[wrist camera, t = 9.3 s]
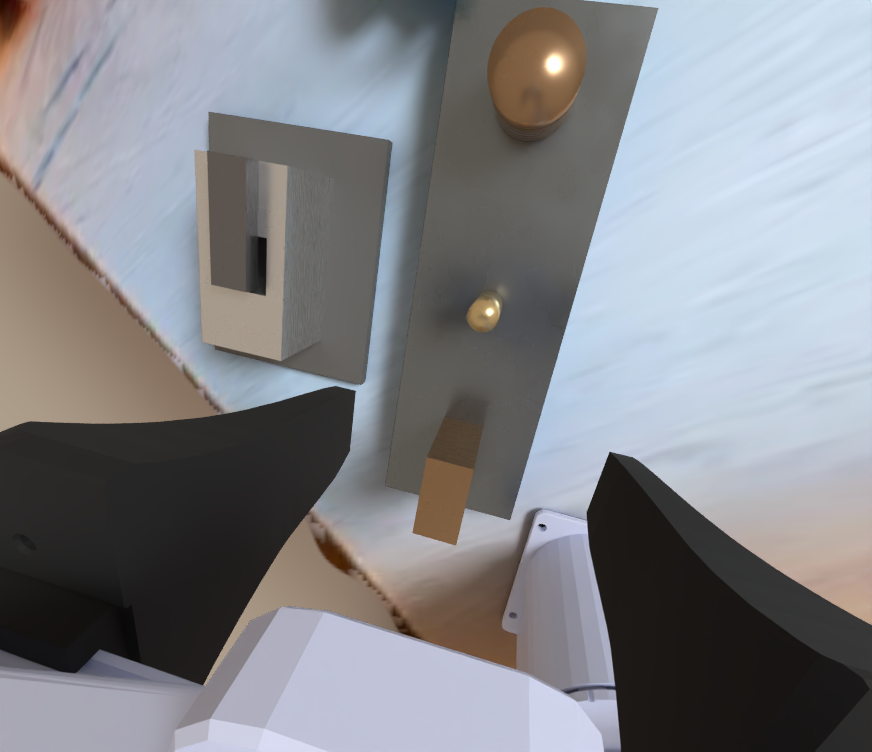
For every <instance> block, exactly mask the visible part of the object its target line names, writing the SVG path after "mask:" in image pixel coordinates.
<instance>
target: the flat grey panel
mask: <svg viewBox="0 0 872 752" xmlns="http://www.w3.org/2000/svg"><path fill="white" fill-rule="evenodd" d="M209 145H210V151H211V152H217V153H223V154H229V155H234V156H240V157H246V158H250V159H254V160H257V161H262V162H268V163H274V164H280V165H286V166H290V167H294V168H297V169H301V170H304V171H308V172H312V173H315V174H319V175H323V176H326V177H330V178H333V185H332V199H331V214H330V228H329V242H328V257H327V271H326V286H325V300H324V314H323V329H322V340H320V341H318V342H316V343H314V344H312V345H311V346H309V347H307V348H305V349H303V350H301V351H299V352H297V353H295V354H294V355H292V356H290V357H288V358H286V359H284V360H282V361H279V360H274V359H270V358H266V357H262V356H258V355H254V354H250V353H245V352H241V351H237V350H233V349H229V348H225V347H221V346H216V345H215V349H216V350H220V351H224V352H228V353H232V354H236V355H241V356H245V357H249V358H253V359H257V360H261V361H265V362H269V363H274V364H278V365H282V366H286V367H290V368H294V369H298V370H302V371H306V372H311V373H315V374H319V375H323V376H327V377H331V378H335V379H339V380H344V381H348V382H352V383H356V384H360V385H362V384H363V383H364V382H365V379H366V370H367V361H368V353H369V344H370V335H371V326H372V317H373V308H374V300H375V291H376V282H377V273H378V264H379V256H380V247H381V238H382V229H383V220H384V211H385V203H386V194H387V185H388V176H389V167H390V158H391V150H392V142H391V141H389V140H385V139H379V138H373V137H366V136H360V135H354V134H347V133H341V132H334V131H328V130H322V129H315V128H309V127H303V126H296V125H290V124H284V123H277V122H271V121H264V120H258V119H252V118H245V117H239V116H233V115H226V114H220V113H213V112H209Z"/></svg>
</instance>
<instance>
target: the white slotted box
mask: <svg viewBox="0 0 872 752" xmlns="http://www.w3.org/2000/svg"><path fill="white" fill-rule="evenodd" d="M194 151H195V176H196V200H197V225H198V250H199V275H200V300H201V325H202V342H204V343H208V344H212V345H216V346H221V347H225V348H229V349H233V350H237V351H241V352H245V353H250V354H254V355H258V356H262V357H266V358H270V359H274V360H279V361H282V360H284V359H286V358H288V357H290V356H292V355H294V354H295V353H297V352H299V351H301V350H303V349H305V348H307V347H309V346H311V345H312V344H314V343H316V342H318V341H320V340H322V329H323V314H324V300H325V286H326V271H327V257H328V242H329V228H330V214H331V199H332V185H333V178H330V177H326V176H323V175H319V174H315V173H312V172H308V171H304V170H301V169H297V168H294V167H290V166H286V165H280V164H274V163H268V162H262V161H257V160H254V159H250V158H246V157H240V156H234V155H229V154H223V153H217V152H211V151H207V152H204V151H198V150H194Z"/></svg>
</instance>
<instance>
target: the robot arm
mask: <svg viewBox="0 0 872 752" xmlns="http://www.w3.org/2000/svg"><path fill="white" fill-rule="evenodd" d="M355 392H356V391H354V390H350V389H345V388H341V387H337V386H334V387H328V388H324V389H320V390H317V391H313V392H310V393H306V394H303V395H299V396H296V397H293V398H289V399H286V400H282V401H279V402H275V403H271V404H267V405H263V406H259V407H255V408H251V409H247V410H243V411H238V412H233V413H228V414H222V415H216V416H210V417H203V418H194V419H184V420H174V421H164V422H149V423H123V424H83V423H53V422H26V423H23V424H19V425H17V426H14V427H12V428H9V429H7V430H4V431H2V432H0V752H872V625H870V624H868V623H867V622H865V621H863V620H861V619H859V618H857V617H855V616H854V615H852V614H850V613H848V612H847V611H845V610H843V609H841V608H839V607H838V606H836V605H834V604H832V603H831V602H829V601H827V600H826V599H824V598H822V597H821V596H819V595H817V594H816V593H814V592H812V591H811V590H809V589H807V588H806V587H804V586H802V585H801V584H799V583H797V582H796V581H794V580H792V579H791V578H789V577H788V576H786V575H785V574H783V573H781V572H780V571H778V570H777V569H775V568H774V567H772V566H771V565H769V564H768V563H766V562H765V561H763V560H762V559H761V558H759V557H758V556H756V555H755V554H753V553H752V552H750V551H749V550H747V549H746V548H745V547H743V546H742V545H740V544H739V543H738V542H736V541H735V540H734V539H732V538H731V537H729V536H728V535H727V534H726V533H724V532H723V531H722V530H720V529H719V528H718V527H717V526H715V525H714V524H713V523H712V522H710V521H709V520H708V519H706V518H705V517H704V516H703V515H702V514H700V513H699V512H698V511H697V510H695V509H694V508H693V507H692V506H691V505H690V504H688V503H687V502H686V501H685V500H684V499H682V498H681V497H680V496H679V495H678V494H677V493H676V492H674V491H673V490H672V489H671V488H670V487H669V486H668V485H666V484H665V483H664V482H663V481H662V480H661V479H660V478H658V477H657V476H656V475H655V474H654V473H653V472H651V471H650V470H649V469H648V468H647V467H645V466H644V465H643V464H642V463H640V462H639V461H638V460H636V459H635V458H633V457H629V456H624V455H620V454H616V453H612V452H609V455H608V458H607V460H606V463H605V466H604V468H603V471H602V473H601V476H600V479H599V481H598V484H597V487H596V489H595V492H594V495H593V497H592V500H591V503H590V505H589V508H588V511H587V521H586V520H583V519H579V518H575V517H571V516H568V515H564V514H560V513H556V512H553V511H549V510H544V509H542V510H539V511H537V512H536V514H535V517H534V520H533V523H532V526H531V529H530V532H529V536H528V539H527V542H526V545H525V548H524V551H523V555H522V558H521V561H520V564H519V567H518V570H517V574H516V577H515V580H514V583H513V586H512V590H511V593H510V596H509V599H508V602H507V605H506V609H505V612H504V615H503V618H502V628H503V629H504V630H505V631H507V632H510V633H514V634H517V644H516V669H513V668H510V667H507V666H503V665H500V664H497V663H494V662H491V661H487V660H484V659H481V658H478V657H475V656H472V655H468V654H465V653H462V652H459V651H456V650H452V649H449V648H446V647H443V646H440V645H436V644H433V643H430V642H427V641H424V640H420V639H417V638H414V637H411V636H408V635H404V634H401V633H398V632H395V631H392V630H388V629H385V628H382V627H379V626H376V625H372V624H369V623H366V622H363V621H360V620H356V619H353V618H350V617H347V616H343V615H340V614H337V613H334V612H331V611H328V610H327V611H326V610H318V609H309V608H300V607H291V606H288V607H280V608H278V609H276V610H273V611H271V612H269V613H267V614H264V615H262V616H260V617H257V618H255V619H253V620H251V621H250V622H249V623H248V625H247V626H246V628H245V629H244V631H243V632H242V633H241V635H240V637H239V638H238V639H237V641H236V642H235V644H234V645H233V647H232V648H231V649H230V651H229V652H228V654H227V655H226V657H225V658H224V660H223V661H222V662H221V664H220V665H219V667H218V668H217V670H216V671H215V673H214V674H213V676H212V677H211V679H210V680H209V681H208V683H207V684H206V686H203V684H204V682H205V681H206V679H207V676H208V675H209V673H210V671H211V669H212V667H213V665H214V663H215V661H216V660H217V658H218V656H219V654H220V652H221V651H222V649H223V647H224V645H225V643H226V641H227V640H228V638H229V636H230V634H231V633H232V631H233V629H234V627H235V625H236V623H237V622H238V619H239V618H240V616H241V615H242V613H243V611H244V609H245V608H246V606H247V604H248V602H249V601H250V599H251V598H252V596H253V594H254V592H255V591H256V589H257V587H258V586H259V584H260V582H261V580H262V579H263V577H264V576H265V574H266V572H267V571H268V569H269V567H270V566H271V564H272V563H273V561H274V559H275V558H276V556H277V554H278V553H279V551H280V550H281V548H282V547H283V545H284V544H285V542H286V541H287V540H288V538H289V537H290V535H291V534H292V533H293V532H294V530H295V529H296V528H297V526H298V525H299V524H300V522H301V521H302V520H303V519H304V517H305V516H306V515H307V513H308V512H309V511H310V510H311V508H312V507H313V506H314V504H315V503H316V502H317V501H318V499H319V498H320V497H321V495H322V494H323V493H324V491H325V490H326V489H327V488H328V486H329V485H330V484H331V482H332V481H333V480H334V478H335V477H336V475H337V473H338V471H339V470H340V468H341V466H342V464H343V463H344V461H345V459H346V457H347V455H348V453H349V451H350V443H351V433H352V423H353V412H354V402H355ZM539 524H544V525H546V526H544V527H540V526H538V525H539ZM511 612H514V613H511Z"/></svg>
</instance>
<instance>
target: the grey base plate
mask: <svg viewBox="0 0 872 752" xmlns="http://www.w3.org/2000/svg"><path fill="white" fill-rule="evenodd" d="M657 11H658V8H653V7H643V6H633V5H623V4H614V3H604V2H594V1H584V0H457V2H456V9H455V16H454V22H453V29H452V36H451V43H450V50H449V56H448V63H447V70H446V77H445V84H444V90H443V97H442V104H441V111H440V118H439V124H438V131H437V138H436V145H435V152H434V158H433V165H432V172H431V179H430V186H429V192H428V199H427V206H426V213H425V220H424V226H423V233H422V240H421V247H420V254H419V260H418V267H417V274H416V281H415V287H414V294H413V301H412V308H411V315H410V321H409V328H408V335H407V342H406V349H405V355H404V362H403V369H402V376H401V383H400V389H399V396H398V403H397V410H396V417H395V423H394V430H393V437H392V444H391V451H390V457H389V464H388V471H387V478H386V485H385V486H388V487H391V488H395V489H399V490H402V491H406V492H410V493H413V494H417V495H420V496H419V501H418V507H417V512H416V518H415V523H414V528H413V533H415V534H418V535H422V536H425V537H429V538H432V539H435V540H439V541H442V542H446V543H449V544H453V545H456V543H457V539H458V535H459V531H460V526H461V522H462V518H463V514H464V509H465V508H468V509H471V510H475V511H479V512H482V513H486V514H489V515H493V516H497V517H500V518H504V519H508V520H510V519H511V515H512V512H513V508H514V505H515V501H516V498H517V495H518V491H519V488H520V484H521V481H522V477H523V474H524V470H525V467H526V463H527V460H528V457H529V453H530V450H531V446H532V443H533V439H534V436H535V432H536V429H537V425H538V422H539V419H540V415H541V412H542V408H543V405H544V401H545V398H546V394H547V391H548V387H549V384H550V381H551V377H552V374H553V370H554V367H555V363H556V360H557V356H558V353H559V349H560V346H561V343H562V339H563V336H564V332H565V329H566V325H567V322H568V318H569V315H570V311H571V308H572V305H573V301H574V298H575V294H576V291H577V287H578V284H579V280H580V277H581V273H582V270H583V267H584V263H585V260H586V256H587V253H588V249H589V246H590V242H591V239H592V235H593V232H594V229H595V225H596V222H597V218H598V215H599V211H600V208H601V204H602V201H603V197H604V194H605V191H606V187H607V184H608V180H609V177H610V173H611V170H612V166H613V163H614V159H615V156H616V153H617V149H618V146H619V142H620V139H621V135H622V132H623V128H624V125H625V121H626V118H627V115H628V111H629V108H630V104H631V101H632V97H633V94H634V90H635V87H636V83H637V80H638V77H639V73H640V70H641V66H642V63H643V59H644V56H645V52H646V49H647V45H648V42H649V39H650V35H651V32H652V28H653V25H654V21H655V18H656V14H657Z"/></svg>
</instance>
